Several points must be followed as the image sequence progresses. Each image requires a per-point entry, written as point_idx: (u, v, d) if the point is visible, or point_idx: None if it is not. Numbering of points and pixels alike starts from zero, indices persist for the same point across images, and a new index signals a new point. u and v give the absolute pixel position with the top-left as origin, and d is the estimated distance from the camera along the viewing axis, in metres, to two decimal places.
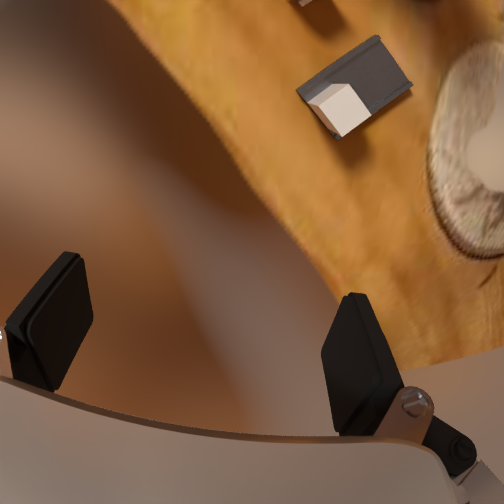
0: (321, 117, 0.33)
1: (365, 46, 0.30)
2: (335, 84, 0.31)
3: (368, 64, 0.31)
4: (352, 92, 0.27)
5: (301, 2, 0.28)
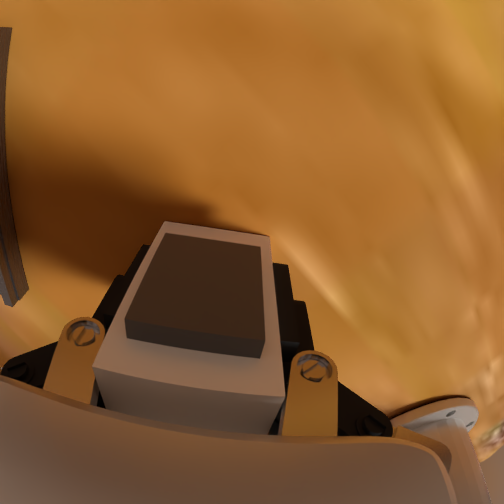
0: None
1: None
2: None
3: None
4: None
5: None
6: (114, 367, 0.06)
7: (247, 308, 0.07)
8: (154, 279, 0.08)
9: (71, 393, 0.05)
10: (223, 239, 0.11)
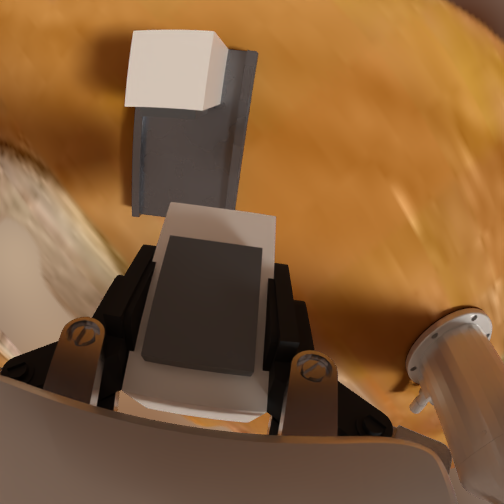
0: None
1: (229, 196, 0.22)
2: (216, 103, 0.18)
3: (203, 177, 0.22)
4: (184, 104, 0.13)
5: (174, 225, 0.11)
6: (138, 389, 0.08)
7: (241, 336, 0.08)
8: (162, 305, 0.09)
9: (71, 393, 0.05)
10: (228, 225, 0.11)
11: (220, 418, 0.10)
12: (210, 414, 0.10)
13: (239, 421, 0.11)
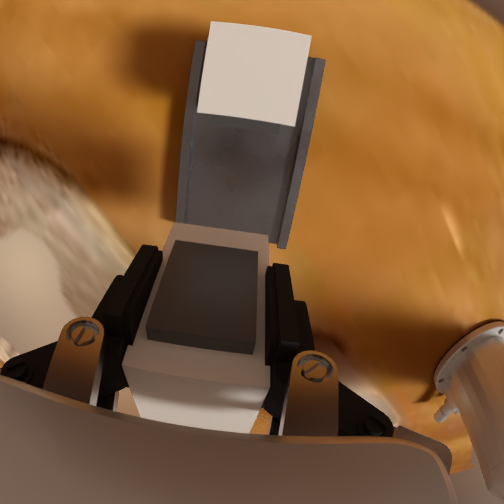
0: None
1: (287, 215, 0.21)
2: None
3: (258, 193, 0.21)
4: (273, 116, 0.12)
5: (177, 238, 0.12)
6: (139, 364, 0.08)
7: (243, 314, 0.09)
8: (167, 289, 0.09)
9: (71, 393, 0.05)
10: (226, 240, 0.13)
11: (219, 426, 0.10)
12: (210, 412, 0.09)
13: (239, 432, 0.10)
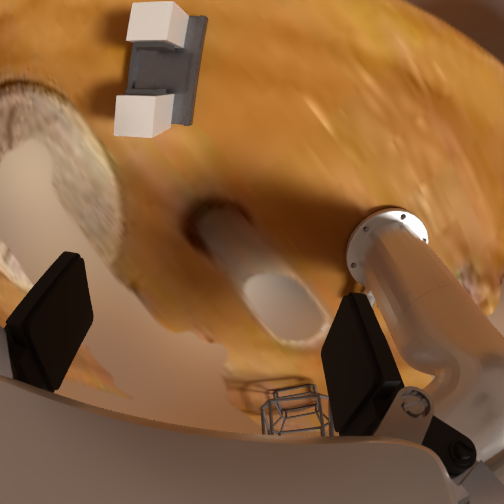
0: None
1: (188, 103, 0.31)
2: (179, 45, 0.27)
3: (171, 93, 0.31)
4: (157, 37, 0.22)
5: None
6: (121, 95, 0.25)
7: (153, 89, 0.26)
8: (134, 88, 0.27)
9: None
10: None
11: (141, 131, 0.27)
12: (138, 119, 0.26)
13: (148, 136, 0.27)
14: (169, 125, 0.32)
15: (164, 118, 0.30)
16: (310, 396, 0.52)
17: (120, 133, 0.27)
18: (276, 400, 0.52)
